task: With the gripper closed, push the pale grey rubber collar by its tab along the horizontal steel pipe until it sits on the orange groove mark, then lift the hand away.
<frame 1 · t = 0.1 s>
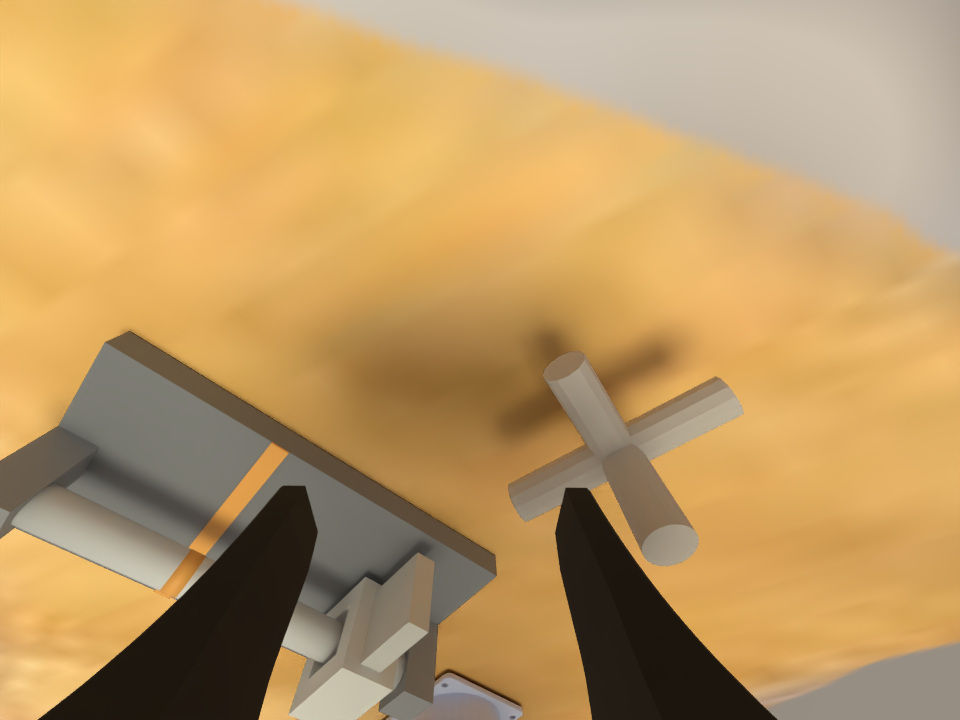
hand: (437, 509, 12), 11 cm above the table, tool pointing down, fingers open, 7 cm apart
pipe board: (275, 531, 26), on the table
collar: (372, 633, 23), point 5 cm above the table, slide at 0.0 cm
pipe connector: (585, 394, 23), on the table
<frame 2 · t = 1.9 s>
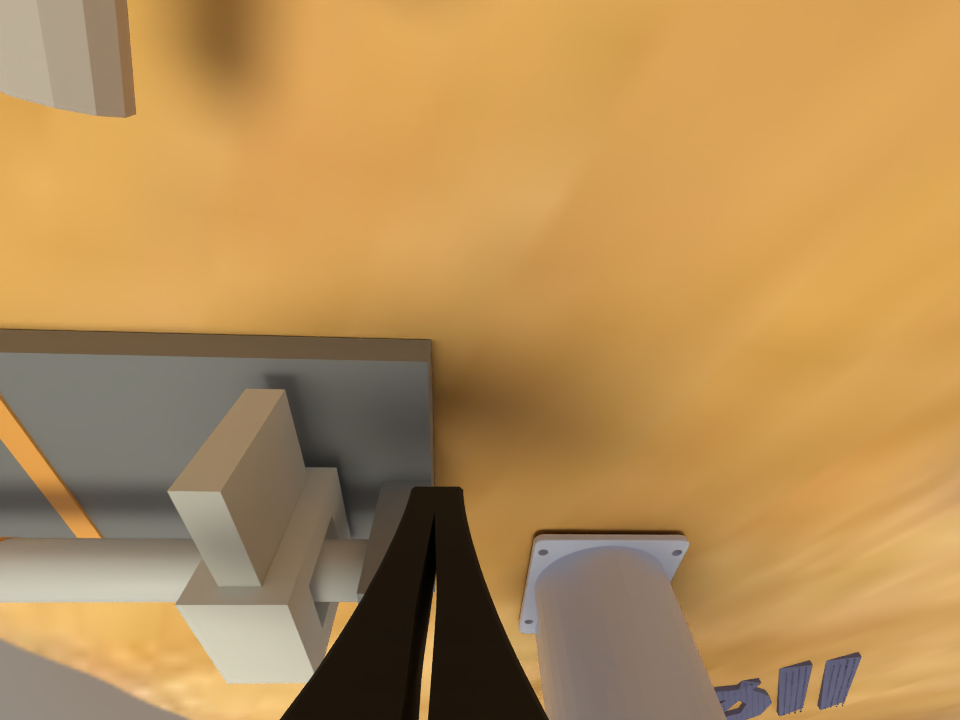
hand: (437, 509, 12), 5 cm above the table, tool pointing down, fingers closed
pipe board: (161, 471, 18), on the table
collar: (272, 534, 14), point 5 cm above the table, slide at 0.0 cm
signage: (663, 701, 35), on the table
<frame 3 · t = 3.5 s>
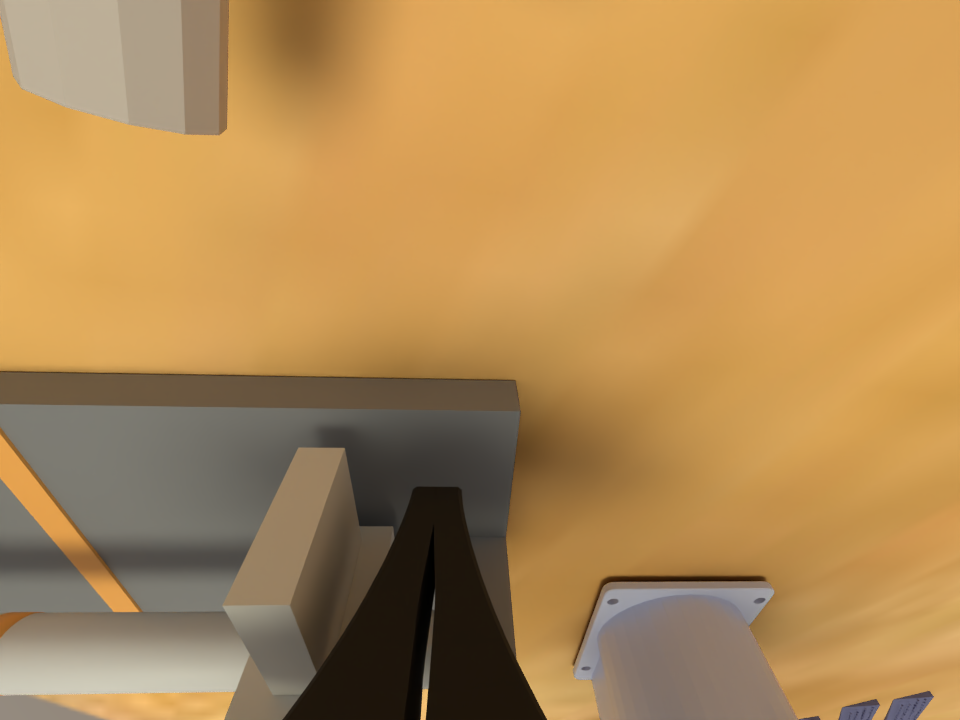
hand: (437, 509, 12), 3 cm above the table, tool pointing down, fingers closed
pipe board: (195, 521, 16), on the table
collar: (327, 615, 12), point 5 cm above the table, slide at 0.3 cm, touching gripper
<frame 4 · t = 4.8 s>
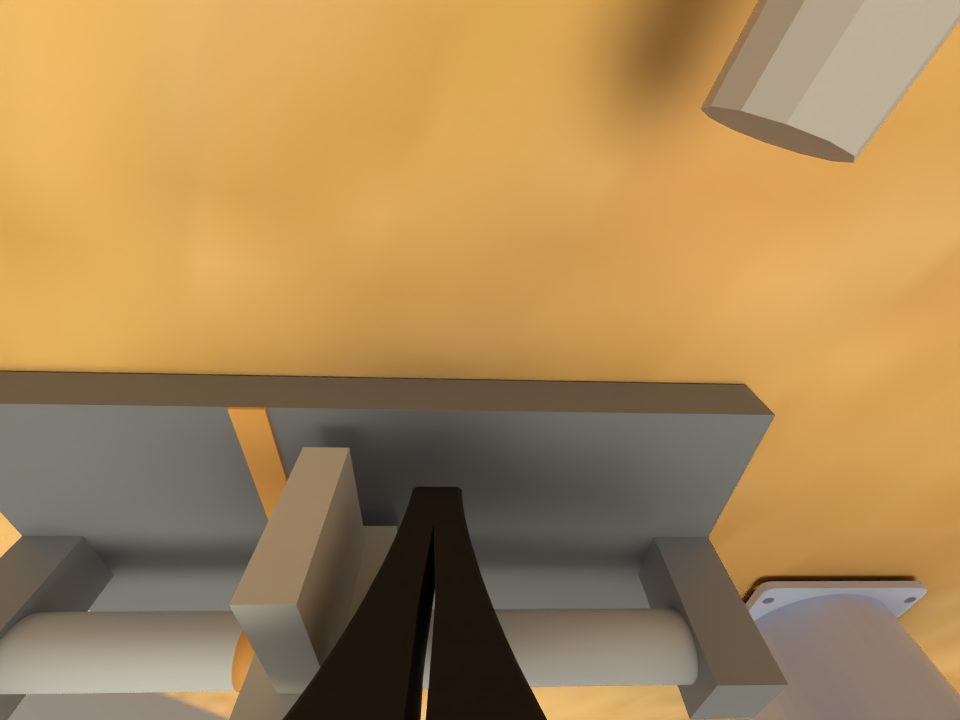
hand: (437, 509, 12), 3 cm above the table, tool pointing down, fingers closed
pipe board: (387, 521, 17), on the table
collar: (331, 614, 12), point 4 cm above the table, slide at 7.7 cm, touching gripper
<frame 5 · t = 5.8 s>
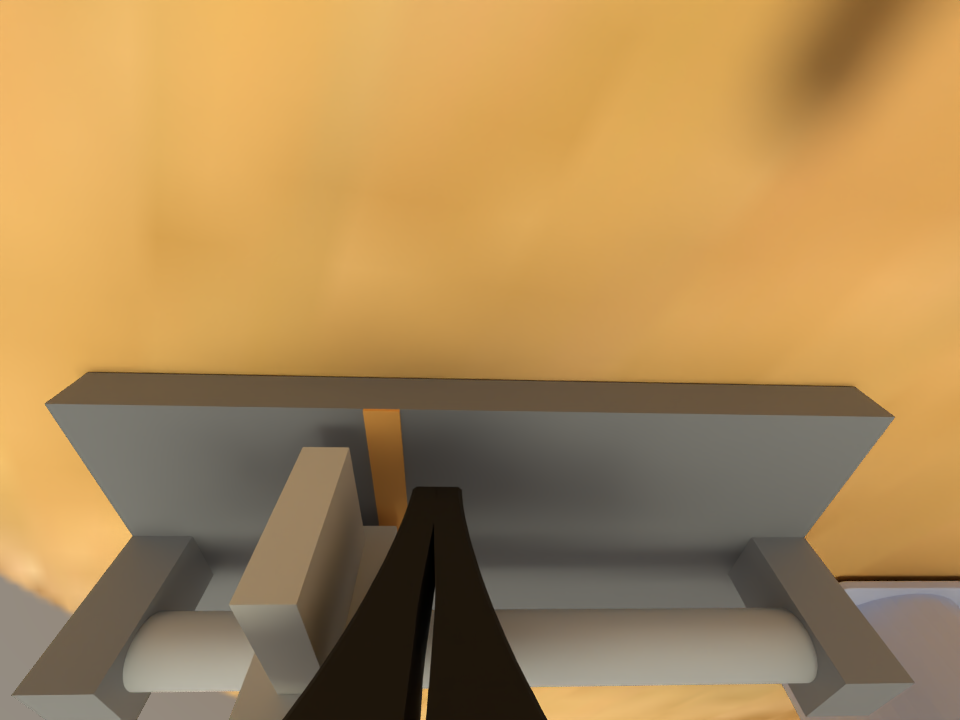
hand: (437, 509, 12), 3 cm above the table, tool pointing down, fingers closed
pipe board: (478, 521, 17), on the table
collar: (330, 614, 12), point 5 cm above the table, slide at 11.3 cm, touching gripper
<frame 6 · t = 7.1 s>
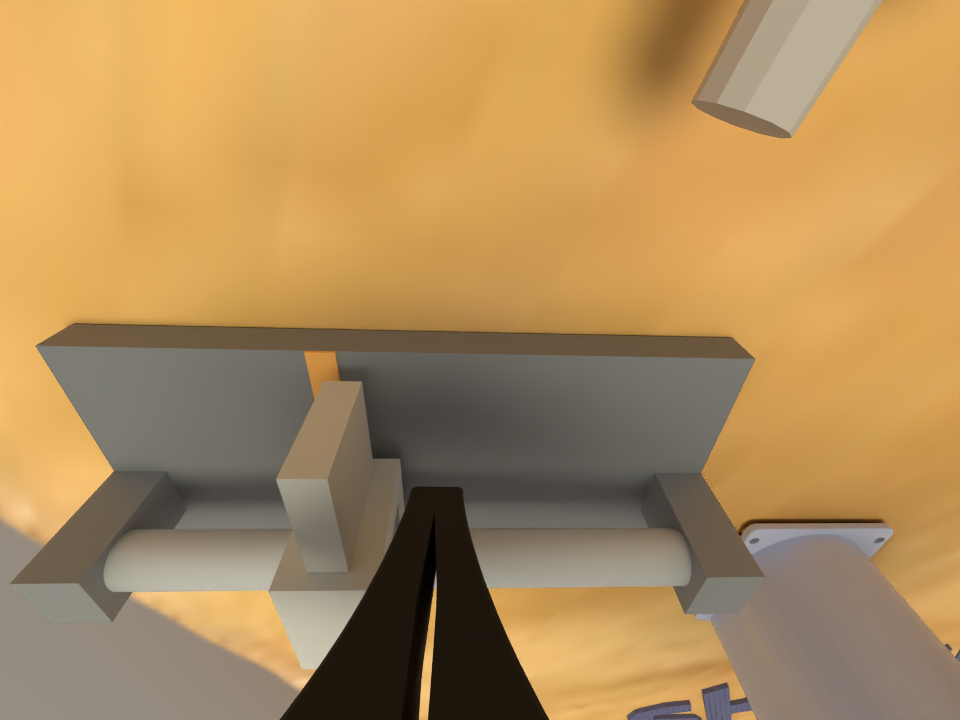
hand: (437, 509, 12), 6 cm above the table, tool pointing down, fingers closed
pipe board: (421, 465, 19), on the table
collar: (346, 523, 14), point 4 cm above the table, slide at 9.1 cm
signage: (788, 686, 36), on the table
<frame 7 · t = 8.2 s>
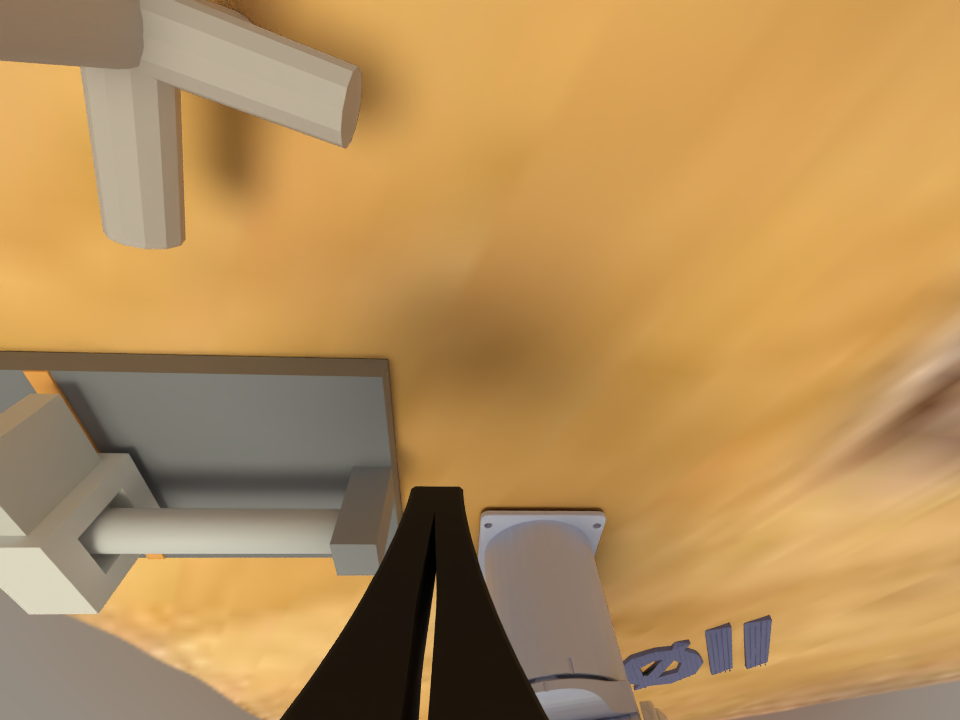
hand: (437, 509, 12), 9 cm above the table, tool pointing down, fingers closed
pipe board: (182, 459, 23), on the table
collar: (59, 502, 18), point 5 cm above the table, slide at 9.1 cm
pipe connector: (237, 45, 14), on the table
signage: (611, 663, 40), on the table
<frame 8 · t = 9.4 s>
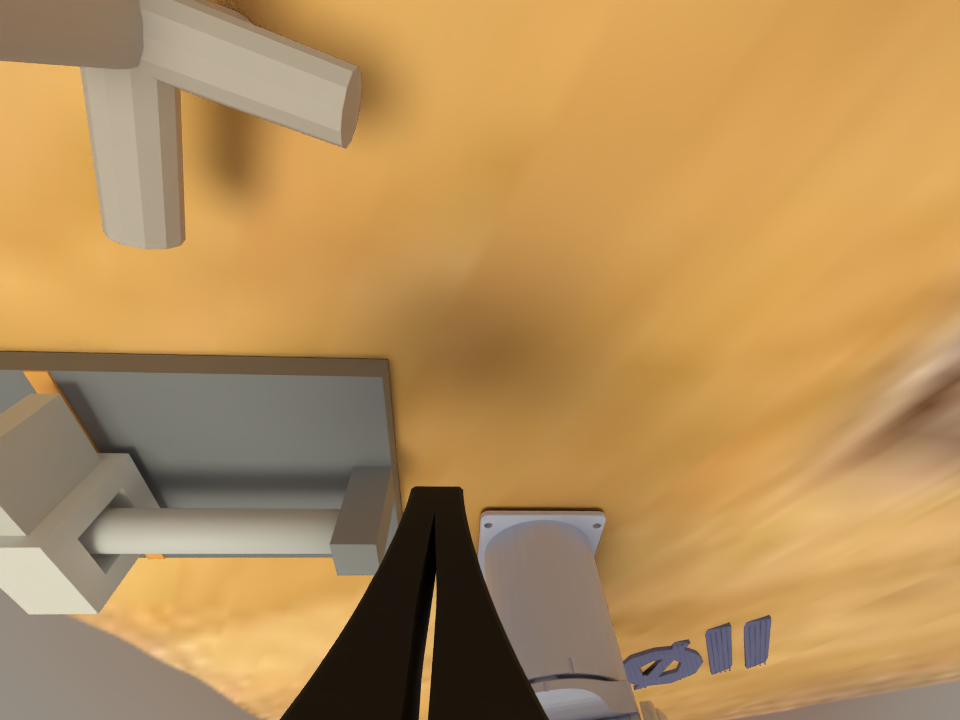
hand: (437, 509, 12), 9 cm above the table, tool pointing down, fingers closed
pipe board: (182, 459, 23), on the table
collar: (59, 502, 18), point 4 cm above the table, slide at 9.1 cm
pipe connector: (237, 45, 14), on the table
signage: (611, 663, 40), on the table
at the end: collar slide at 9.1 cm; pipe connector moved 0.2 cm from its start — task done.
